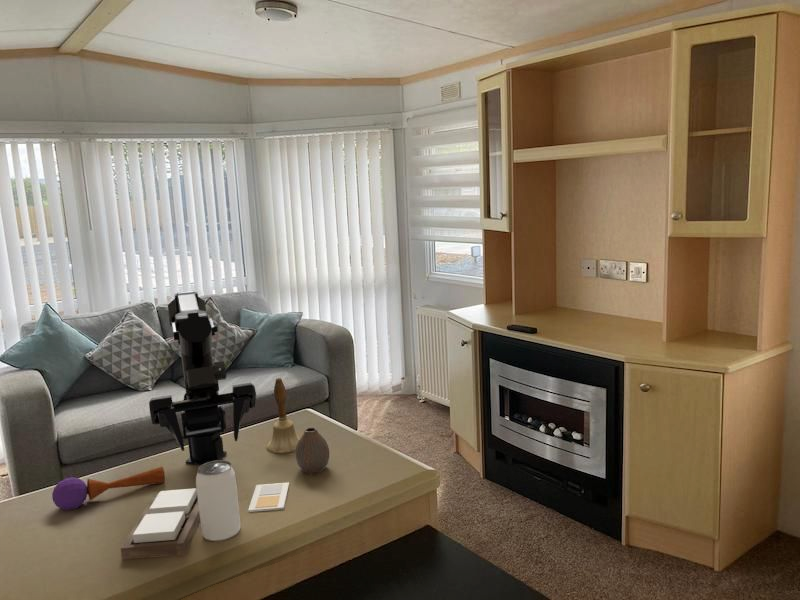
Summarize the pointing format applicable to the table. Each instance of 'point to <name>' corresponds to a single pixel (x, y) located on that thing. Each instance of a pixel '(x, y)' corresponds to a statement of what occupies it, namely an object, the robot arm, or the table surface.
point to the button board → (162, 548)
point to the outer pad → (159, 527)
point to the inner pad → (174, 501)
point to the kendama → (98, 487)
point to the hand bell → (282, 425)
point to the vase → (312, 452)
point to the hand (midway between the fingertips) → (210, 445)
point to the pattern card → (269, 497)
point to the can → (218, 500)
